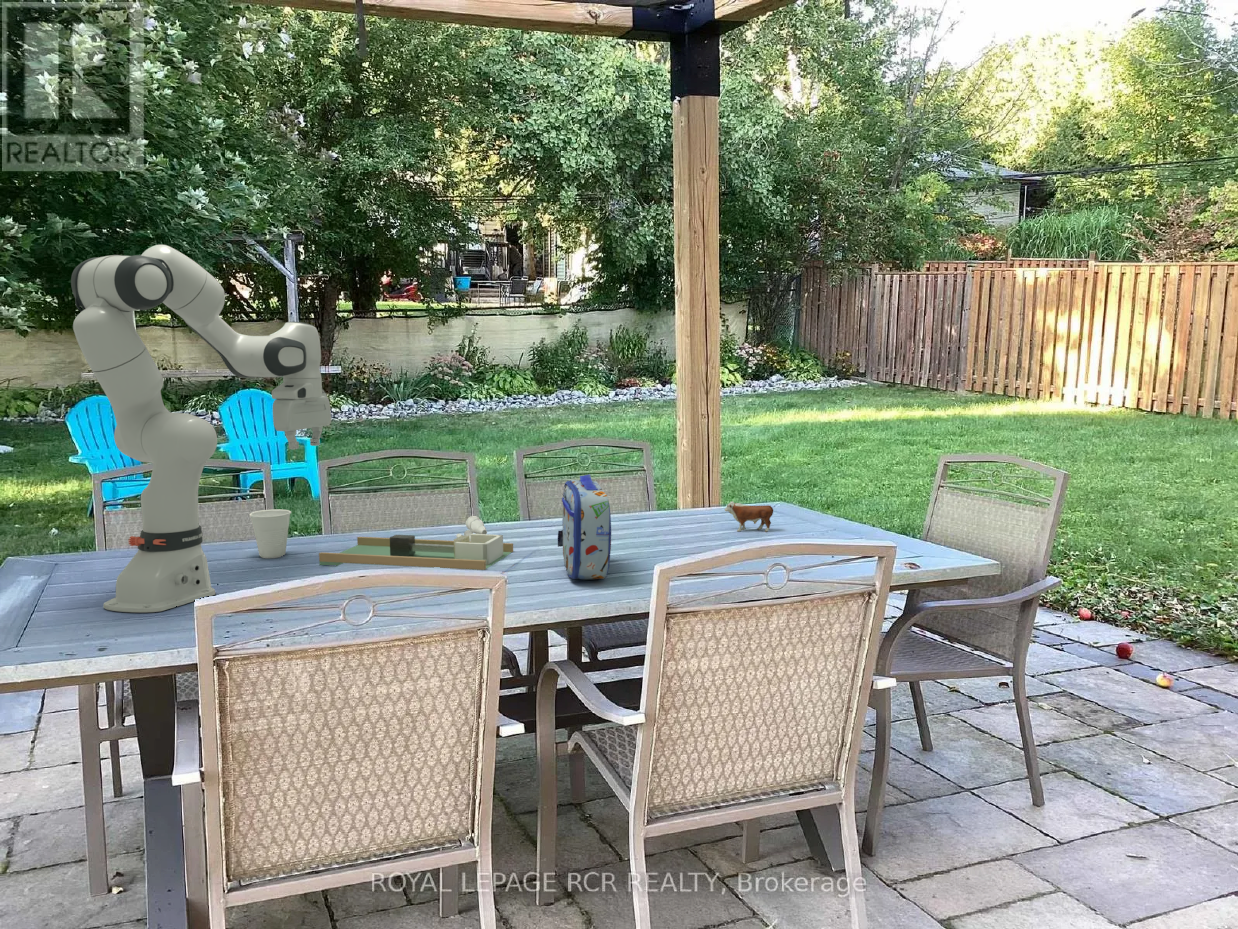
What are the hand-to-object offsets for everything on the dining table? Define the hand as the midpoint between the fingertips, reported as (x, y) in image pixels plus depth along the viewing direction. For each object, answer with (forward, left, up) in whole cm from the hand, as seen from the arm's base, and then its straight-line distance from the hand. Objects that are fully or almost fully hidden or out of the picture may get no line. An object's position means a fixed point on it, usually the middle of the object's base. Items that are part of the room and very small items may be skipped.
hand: (304, 447), depth 243 cm
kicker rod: (+5, -29, -27) cm, 40 cm away
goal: (+5, -43, -28) cm, 51 cm away
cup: (+2, +11, -28) cm, 30 cm away
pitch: (+5, -27, -28) cm, 39 cm away
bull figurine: (+58, -102, -28) cm, 120 cm away
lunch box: (+2, -70, -28) cm, 75 cm away
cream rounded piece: (+25, -33, -28) cm, 50 cm away
